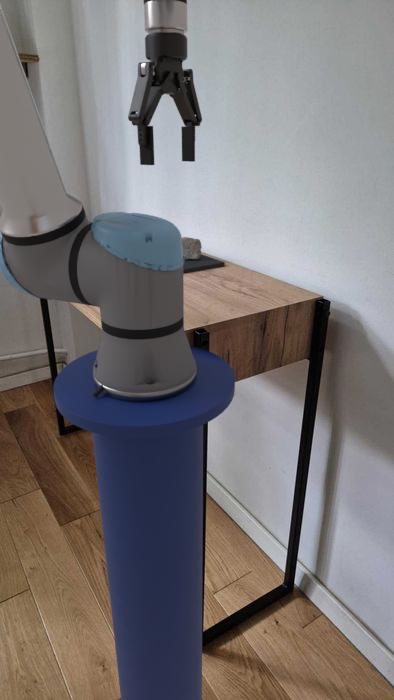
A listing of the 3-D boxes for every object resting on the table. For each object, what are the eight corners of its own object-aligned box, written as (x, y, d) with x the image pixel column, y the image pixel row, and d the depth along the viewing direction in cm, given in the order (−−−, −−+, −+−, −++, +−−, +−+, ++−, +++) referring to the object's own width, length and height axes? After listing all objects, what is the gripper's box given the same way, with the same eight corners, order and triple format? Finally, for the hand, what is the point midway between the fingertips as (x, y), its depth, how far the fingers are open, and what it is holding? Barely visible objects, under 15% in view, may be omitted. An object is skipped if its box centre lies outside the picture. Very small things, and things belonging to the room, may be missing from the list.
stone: (205, 255, 134) (205, 234, 131) (196, 262, 127) (196, 240, 124) (172, 253, 136) (172, 232, 134) (161, 259, 129) (161, 238, 127)
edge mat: (224, 266, 127) (224, 262, 127) (179, 273, 120) (179, 269, 120) (184, 251, 143) (184, 248, 142) (142, 257, 136) (142, 254, 135)
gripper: (187, 45, 97) (188, 159, 105) (101, 25, 78) (111, 165, 86) (220, 42, 93) (218, 160, 102) (137, 19, 74) (144, 167, 83)
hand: (169, 163), depth 94 cm, fingers open, 13 cm apart
